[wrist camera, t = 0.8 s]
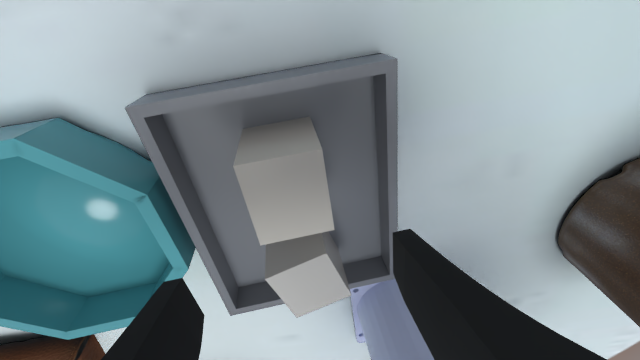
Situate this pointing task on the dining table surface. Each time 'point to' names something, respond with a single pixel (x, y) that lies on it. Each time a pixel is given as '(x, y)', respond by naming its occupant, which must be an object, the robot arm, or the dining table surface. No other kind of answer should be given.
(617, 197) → the plant pot
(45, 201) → the bowl
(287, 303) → the light gray cube block
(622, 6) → the dining table surface
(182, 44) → the dining table surface
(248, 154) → the white rectangular block
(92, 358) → the sunglasses case
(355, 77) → the parts tray
